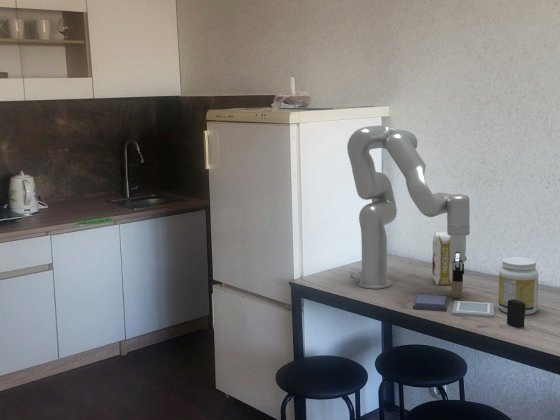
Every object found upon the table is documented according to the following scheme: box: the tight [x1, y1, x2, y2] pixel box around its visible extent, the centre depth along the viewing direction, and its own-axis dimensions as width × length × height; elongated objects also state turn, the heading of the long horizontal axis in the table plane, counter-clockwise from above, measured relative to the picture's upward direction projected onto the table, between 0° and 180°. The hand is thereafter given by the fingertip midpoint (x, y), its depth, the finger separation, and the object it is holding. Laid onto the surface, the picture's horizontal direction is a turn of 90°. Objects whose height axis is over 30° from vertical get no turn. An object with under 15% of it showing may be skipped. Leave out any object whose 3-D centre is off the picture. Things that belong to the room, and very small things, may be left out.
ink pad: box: [412, 294, 450, 312], centre depth 230 cm, size 11×11×2 cm
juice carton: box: [431, 231, 453, 286], centre depth 255 cm, size 8×9×19 cm
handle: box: [449, 255, 467, 299], centre depth 237 cm, size 5×6×15 cm
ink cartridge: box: [506, 299, 526, 330], centre depth 207 cm, size 5×2×8 cm, turn 29°
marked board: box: [451, 300, 495, 318], centre depth 224 cm, size 13×13×1 cm
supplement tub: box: [498, 256, 540, 316], centre depth 221 cm, size 12×12×17 cm
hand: (458, 277), depth 237 cm, fingers open, 9 cm apart
